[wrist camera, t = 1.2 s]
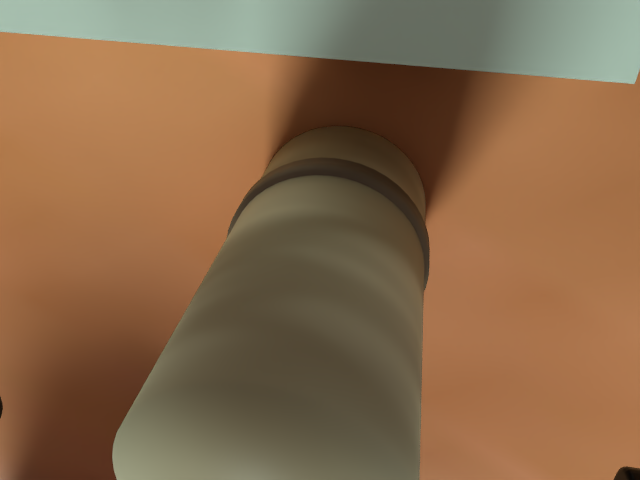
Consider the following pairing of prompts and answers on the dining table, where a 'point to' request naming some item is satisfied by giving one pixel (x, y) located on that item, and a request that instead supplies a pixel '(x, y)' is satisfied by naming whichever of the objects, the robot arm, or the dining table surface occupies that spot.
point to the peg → (298, 330)
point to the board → (368, 30)
